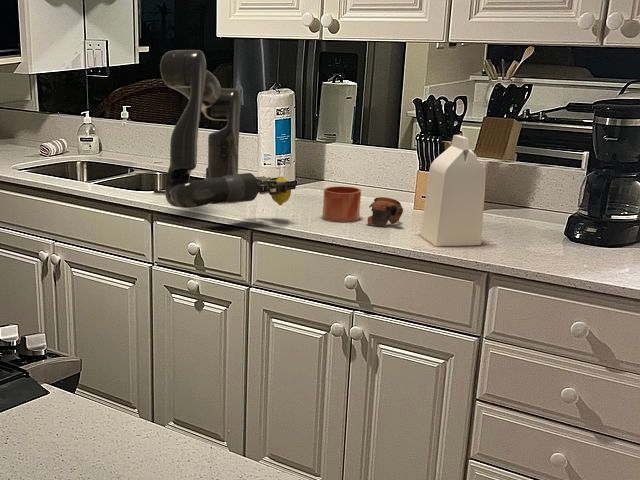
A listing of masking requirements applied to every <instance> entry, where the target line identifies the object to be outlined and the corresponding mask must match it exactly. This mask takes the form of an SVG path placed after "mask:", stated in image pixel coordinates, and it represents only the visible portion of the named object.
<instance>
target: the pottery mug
mask: <svg viewBox="0 0 640 480" xmlns="http://www.w3.org/2000/svg"><path fill="white" fill-rule="evenodd" d="M368 208H370V209H371V210H370V211H371V212H372V214H371V215H370V216H368V217H367V226H369V225H376V226H379V227H383V228H386V227H387V225H388V223H390V224H391V225H395V224H396V223H397V222H399V221H400V219H401V217H402V215H403V213H404V208H403V206H402V204H401V202H400V201H399V200H397V199H395V198H391V197H387V196H386V197H385V196H379V197H375V198H374V199H373V202H372V203H371V204H370V205H369V206H368Z"/></svg>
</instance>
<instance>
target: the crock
mask: <svg viewBox="0 0 640 480" xmlns="http://www.w3.org/2000/svg"><path fill="white" fill-rule="evenodd" d="M361 199H362V189H361V188H358V187H354V186H343V185H342V186H341V185H339V186H329V187H325V188H324V189H323V199H322V215H321V216H322V219H323V220H325V221H328V222H335V223H351V222H356V221H358V220H360V215H361Z"/></svg>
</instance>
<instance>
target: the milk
mask: <svg viewBox="0 0 640 480" xmlns="http://www.w3.org/2000/svg"><path fill="white" fill-rule="evenodd" d="M469 147H470V145H469V138H468V137H466V136H463V135H461V134H453V136H452V141H451V145H450V146H449V147H448V148H446V149H445V150H444V151H442V152H441V154H439V155H438V156H437V157H436V158H435V159H434V160H433V161H432V162H431V164H430V166H429V172H428V177H427V178H428V179H427V185H426V192H425V199H424V206H423V213H422V220H421V225H420V234H419V235H420V236H421V237H422V238H423V239H425V240H426V241H428V242H429V243H430V244H432V245H433V246H435V247H459V246H461V247H462V246H463V247H465V246H481V245H482V234H483V223H484V210H485V209H484V206H485V195H486V180H487V179H486V178H487V171H486V167H484V165H483V164H482V163H481V162H480V160H478V159H477V158H478V156H477V154H476V153H475V152H474V151H473V150H472V149H470V148H469Z"/></svg>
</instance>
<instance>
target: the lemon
mask: <svg viewBox="0 0 640 480" xmlns="http://www.w3.org/2000/svg"><path fill="white" fill-rule="evenodd" d="M279 177H280V178H278V177H277V178H278V179H276V181H277V182H282V181H284V182H286V181H289V180H288V179H286V178H285V177H284V176H279ZM272 185H273V184H272ZM291 195H292V190H286V193H281V194H275V195H270V196H271V199H272V201H274V202H275V203H276V204H277V205H278V206H282V205H283V204H284V203H286V202H288V201H289V199H290V197H291Z"/></svg>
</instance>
